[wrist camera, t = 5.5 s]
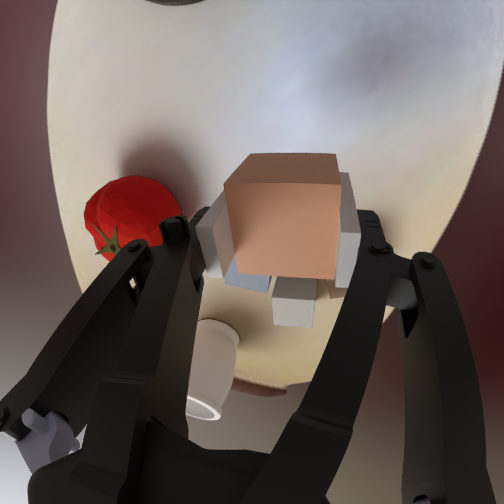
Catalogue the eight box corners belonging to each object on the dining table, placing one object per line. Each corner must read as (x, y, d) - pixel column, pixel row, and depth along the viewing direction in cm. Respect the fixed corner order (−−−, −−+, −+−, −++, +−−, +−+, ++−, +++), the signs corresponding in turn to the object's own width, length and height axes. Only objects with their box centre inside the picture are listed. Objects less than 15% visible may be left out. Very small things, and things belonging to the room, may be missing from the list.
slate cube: (238, 225, 33) (225, 249, 29) (279, 233, 32) (272, 258, 28) (236, 258, 36) (225, 283, 32) (274, 266, 35) (267, 293, 31)
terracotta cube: (250, 153, 16) (223, 183, 12) (335, 153, 14) (341, 184, 10) (258, 226, 18) (238, 273, 14) (333, 228, 17) (334, 279, 13)
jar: (225, 356, 51) (201, 423, 39) (181, 328, 49) (147, 395, 37) (257, 337, 45) (233, 417, 33) (206, 304, 43) (168, 384, 31)
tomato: (129, 145, 29) (71, 177, 21) (213, 198, 31) (173, 248, 23) (111, 209, 36) (65, 249, 28) (179, 256, 38) (144, 307, 30)
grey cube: (278, 270, 35) (271, 297, 31) (317, 272, 34) (315, 300, 30) (280, 297, 38) (273, 324, 34) (315, 300, 37) (312, 328, 33)
